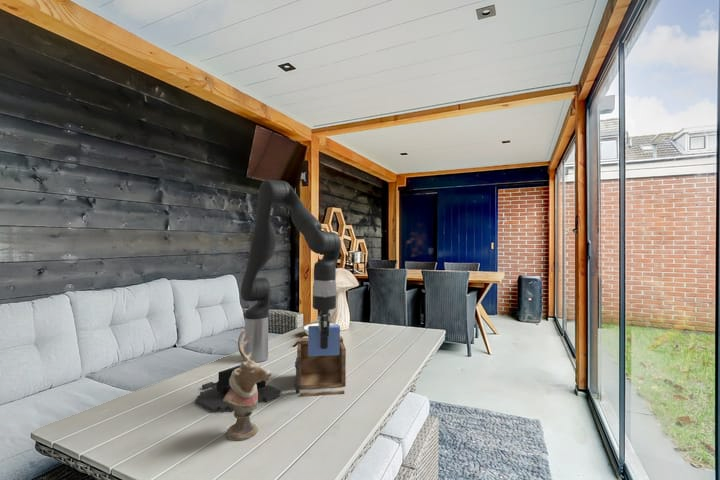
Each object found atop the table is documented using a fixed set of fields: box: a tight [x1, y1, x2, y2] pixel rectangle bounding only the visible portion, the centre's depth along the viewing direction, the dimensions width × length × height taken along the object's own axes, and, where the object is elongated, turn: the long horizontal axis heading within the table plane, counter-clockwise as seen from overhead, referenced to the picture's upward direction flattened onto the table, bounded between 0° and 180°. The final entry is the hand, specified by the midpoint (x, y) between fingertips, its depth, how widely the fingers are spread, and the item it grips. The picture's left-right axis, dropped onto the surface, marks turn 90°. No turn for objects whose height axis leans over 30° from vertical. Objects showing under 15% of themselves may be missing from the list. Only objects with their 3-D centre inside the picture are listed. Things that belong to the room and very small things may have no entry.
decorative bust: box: [223, 330, 272, 441], centre depth 90 cm, size 11×13×25 cm
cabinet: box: [294, 335, 347, 397], centre depth 120 cm, size 17×18×14 cm
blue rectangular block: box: [307, 324, 341, 356], centre depth 114 cm, size 10×2×9 cm, turn 99°
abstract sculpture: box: [194, 364, 282, 414], centre depth 111 cm, size 25×9×20 cm
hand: (323, 346), depth 114 cm, fingers closed on blue rectangular block, 2 cm apart
